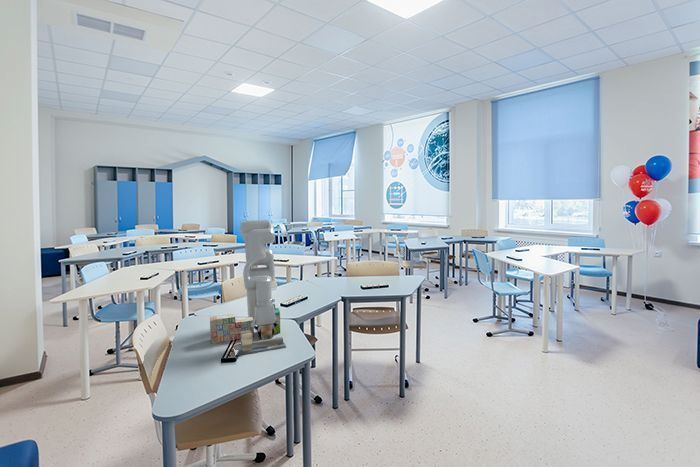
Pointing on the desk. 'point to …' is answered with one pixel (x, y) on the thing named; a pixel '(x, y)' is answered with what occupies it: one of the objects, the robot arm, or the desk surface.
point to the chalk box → (277, 314)
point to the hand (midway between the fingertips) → (266, 336)
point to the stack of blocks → (228, 327)
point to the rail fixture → (257, 344)
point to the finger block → (266, 331)
